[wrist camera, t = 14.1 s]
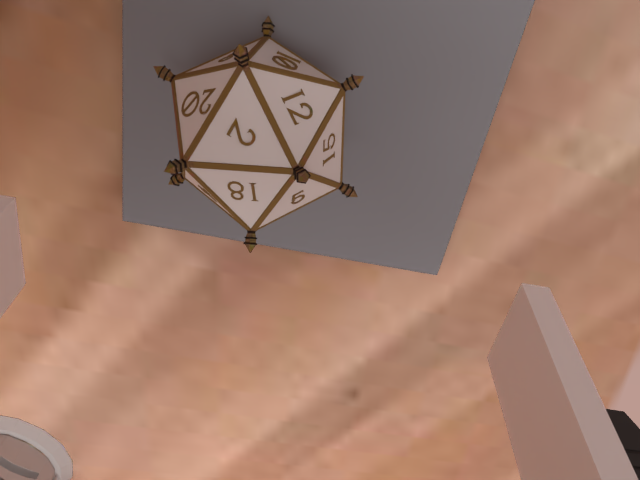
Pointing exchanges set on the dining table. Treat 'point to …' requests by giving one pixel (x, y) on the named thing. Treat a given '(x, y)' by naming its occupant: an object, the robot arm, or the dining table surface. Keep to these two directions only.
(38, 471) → the lantern
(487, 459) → the dining table surface
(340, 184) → the game die
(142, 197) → the mat
